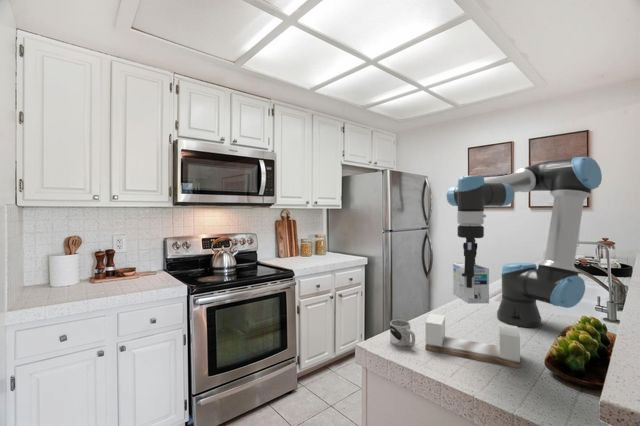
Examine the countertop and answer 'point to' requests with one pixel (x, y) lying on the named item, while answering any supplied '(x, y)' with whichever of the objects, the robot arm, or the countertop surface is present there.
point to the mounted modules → (507, 336)
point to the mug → (401, 333)
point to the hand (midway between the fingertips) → (470, 292)
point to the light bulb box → (479, 283)
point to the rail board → (472, 351)
